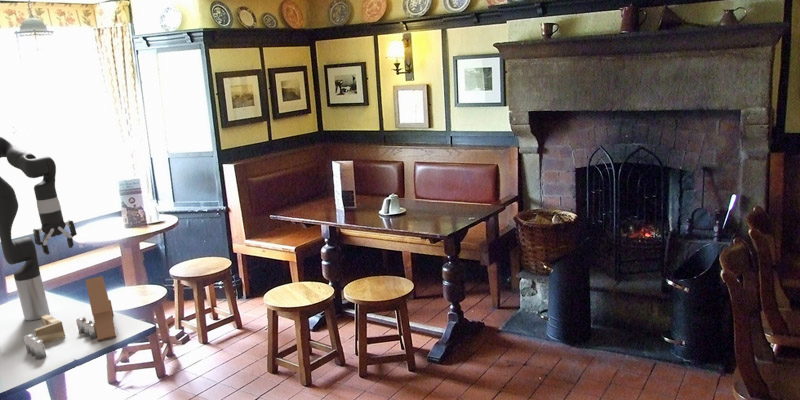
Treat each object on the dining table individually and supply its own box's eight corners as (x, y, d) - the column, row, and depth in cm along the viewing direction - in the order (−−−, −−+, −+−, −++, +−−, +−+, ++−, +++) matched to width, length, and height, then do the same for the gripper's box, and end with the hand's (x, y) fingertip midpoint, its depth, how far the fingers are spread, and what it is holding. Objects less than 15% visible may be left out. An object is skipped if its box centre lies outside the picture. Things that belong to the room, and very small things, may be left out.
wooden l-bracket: (26, 337, 247) (22, 322, 246) (51, 328, 253) (47, 314, 252) (39, 345, 238) (36, 330, 236) (65, 336, 244) (61, 321, 243)
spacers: (25, 351, 234) (21, 335, 233) (86, 328, 249) (82, 314, 248) (38, 360, 225) (34, 344, 223) (101, 336, 240) (97, 321, 238)
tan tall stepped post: (102, 358, 251) (94, 335, 231) (91, 305, 260) (83, 278, 240) (122, 353, 254) (116, 330, 234) (110, 300, 263) (104, 274, 243)
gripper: (65, 204, 252) (74, 244, 256) (25, 213, 242) (35, 255, 246) (72, 206, 247) (82, 246, 251) (32, 215, 237) (43, 257, 241)
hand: (59, 250), depth 249 cm, fingers open, 8 cm apart
